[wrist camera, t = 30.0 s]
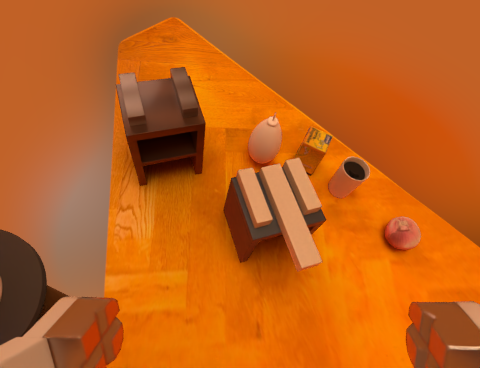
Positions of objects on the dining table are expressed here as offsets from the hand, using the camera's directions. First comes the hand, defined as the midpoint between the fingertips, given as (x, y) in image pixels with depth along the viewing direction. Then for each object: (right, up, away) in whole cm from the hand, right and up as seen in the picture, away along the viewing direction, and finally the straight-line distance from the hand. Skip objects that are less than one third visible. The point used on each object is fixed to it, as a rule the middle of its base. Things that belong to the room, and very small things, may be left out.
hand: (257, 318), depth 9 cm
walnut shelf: (-19, +10, +70) cm, 73 cm away
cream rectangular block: (+8, -2, +50) cm, 51 cm away
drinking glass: (+25, +3, +73) cm, 78 cm away
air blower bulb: (+5, +11, +74) cm, 75 cm away
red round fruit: (+38, -10, +69) cm, 79 cm away
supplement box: (+17, +9, +76) cm, 78 cm away
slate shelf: (+5, -6, +65) cm, 65 cm away
